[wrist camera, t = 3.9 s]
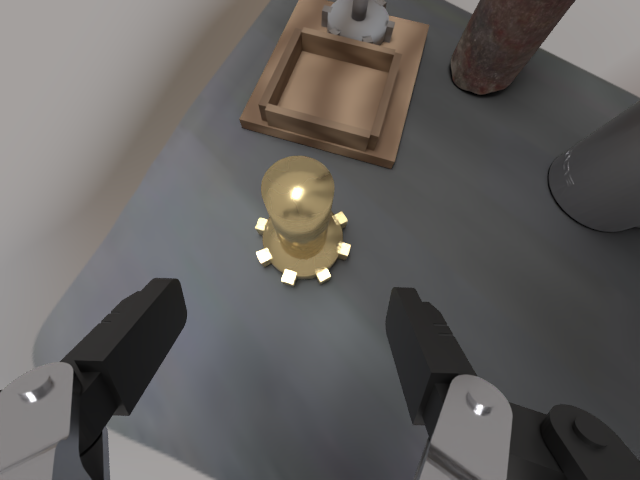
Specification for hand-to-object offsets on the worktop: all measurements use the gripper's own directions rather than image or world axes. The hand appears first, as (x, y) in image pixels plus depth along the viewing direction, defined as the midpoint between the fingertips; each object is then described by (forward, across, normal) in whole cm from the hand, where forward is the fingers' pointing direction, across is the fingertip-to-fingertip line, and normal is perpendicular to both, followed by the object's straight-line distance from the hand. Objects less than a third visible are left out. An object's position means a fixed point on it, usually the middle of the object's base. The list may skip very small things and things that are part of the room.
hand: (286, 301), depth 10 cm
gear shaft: (+13, 0, +4) cm, 14 cm away
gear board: (+27, -3, -10) cm, 29 cm away
